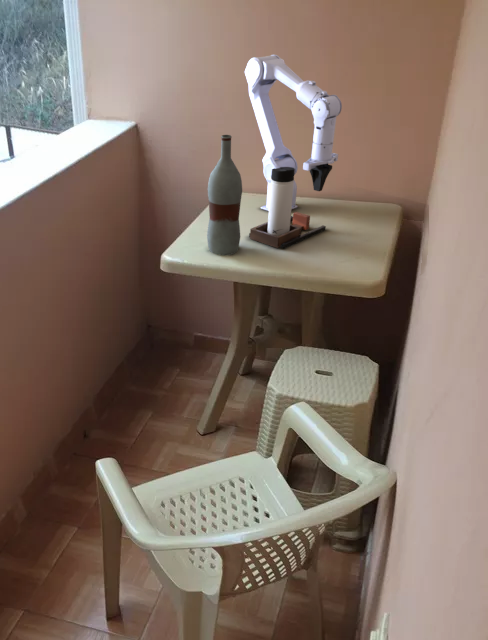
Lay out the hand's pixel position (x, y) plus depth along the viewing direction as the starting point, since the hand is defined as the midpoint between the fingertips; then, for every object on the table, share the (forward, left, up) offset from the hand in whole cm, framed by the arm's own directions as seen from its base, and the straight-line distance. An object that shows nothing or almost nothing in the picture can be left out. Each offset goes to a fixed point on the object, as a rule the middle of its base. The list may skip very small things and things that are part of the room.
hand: (317, 190), depth 194 cm
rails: (+14, 0, -9) cm, 17 cm away
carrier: (+16, +1, -9) cm, 19 cm away
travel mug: (+19, +1, -10) cm, 21 cm away
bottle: (+36, -5, -10) cm, 38 cm away
